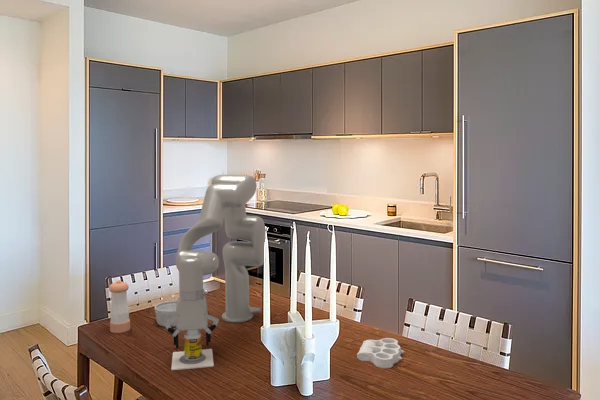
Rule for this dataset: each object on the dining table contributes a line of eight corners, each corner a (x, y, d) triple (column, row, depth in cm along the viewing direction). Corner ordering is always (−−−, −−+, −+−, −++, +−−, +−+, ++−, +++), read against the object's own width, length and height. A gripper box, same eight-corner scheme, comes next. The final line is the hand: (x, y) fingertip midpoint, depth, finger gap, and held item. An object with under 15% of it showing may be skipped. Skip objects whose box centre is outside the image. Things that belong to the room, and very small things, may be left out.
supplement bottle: (188, 363, 153) (187, 332, 152) (182, 356, 158) (181, 326, 157) (204, 359, 156) (204, 328, 155) (198, 352, 161) (197, 323, 160)
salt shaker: (134, 327, 185) (132, 279, 183) (121, 334, 178) (119, 284, 176) (118, 325, 188) (117, 277, 186) (105, 331, 181) (103, 282, 179)
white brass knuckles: (365, 344, 171) (406, 349, 167) (354, 365, 154) (400, 371, 150) (365, 334, 171) (407, 340, 166) (354, 355, 154) (401, 361, 149)
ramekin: (196, 320, 193) (195, 304, 192) (171, 331, 182) (170, 313, 181) (173, 314, 200) (172, 298, 199) (147, 324, 189) (147, 307, 188)
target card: (212, 350, 165) (212, 348, 164) (213, 366, 152) (213, 365, 152) (172, 353, 162) (172, 351, 162) (171, 370, 149) (171, 368, 149)
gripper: (217, 289, 160) (218, 339, 162) (164, 292, 156) (165, 343, 158) (219, 296, 153) (219, 347, 155) (162, 299, 149) (164, 352, 151)
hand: (192, 345), depth 156 cm, fingers open, 9 cm apart
